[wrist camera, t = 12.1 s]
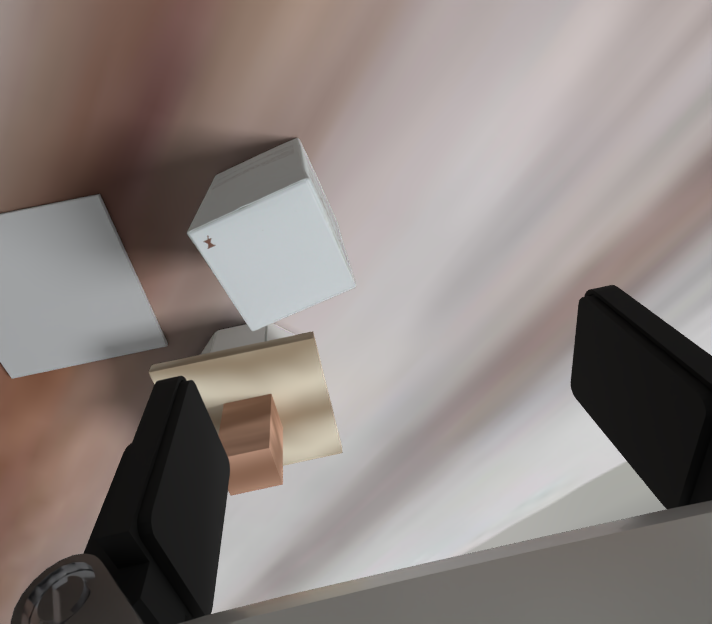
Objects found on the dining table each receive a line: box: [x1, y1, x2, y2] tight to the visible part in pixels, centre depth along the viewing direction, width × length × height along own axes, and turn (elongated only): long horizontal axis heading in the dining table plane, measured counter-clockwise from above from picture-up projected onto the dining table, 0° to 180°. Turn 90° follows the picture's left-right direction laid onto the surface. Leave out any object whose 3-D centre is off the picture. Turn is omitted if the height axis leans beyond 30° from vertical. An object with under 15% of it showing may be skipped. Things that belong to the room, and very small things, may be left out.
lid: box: [149, 332, 343, 495], centre depth 37 cm, size 13×13×7 cm
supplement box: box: [187, 138, 356, 331], centre depth 32 cm, size 7×7×13 cm
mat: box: [0, 194, 168, 378], centre depth 38 cm, size 14×14×1 cm
